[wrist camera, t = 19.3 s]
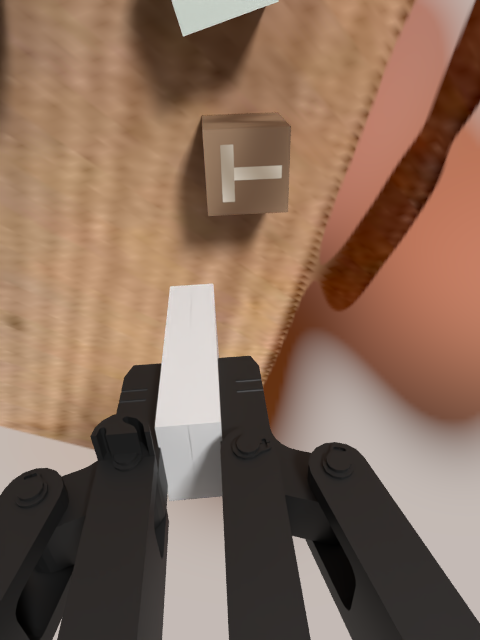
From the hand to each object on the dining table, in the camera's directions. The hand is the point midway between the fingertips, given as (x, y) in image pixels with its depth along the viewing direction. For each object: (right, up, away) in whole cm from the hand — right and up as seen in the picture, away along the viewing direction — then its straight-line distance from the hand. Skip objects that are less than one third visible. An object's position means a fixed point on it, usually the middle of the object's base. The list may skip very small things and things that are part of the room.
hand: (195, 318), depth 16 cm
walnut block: (+2, +10, +16) cm, 19 cm away
